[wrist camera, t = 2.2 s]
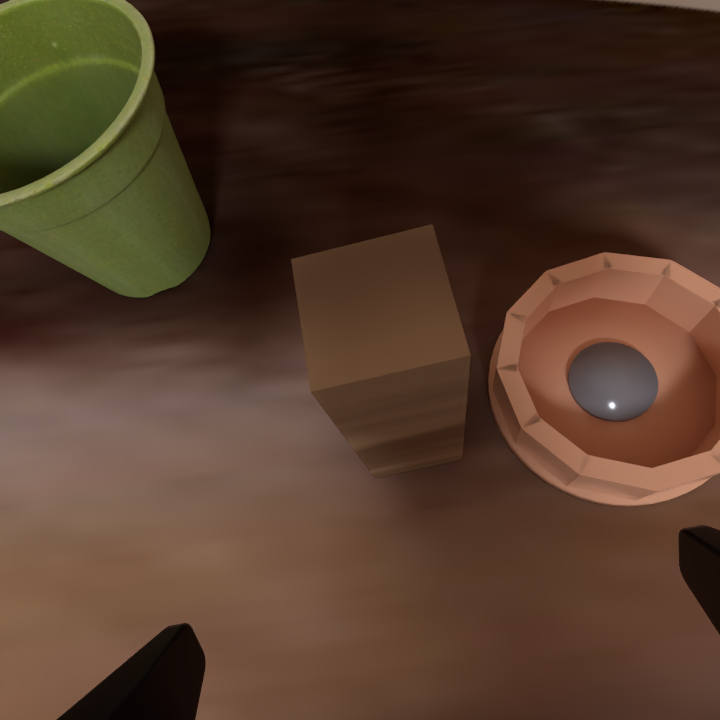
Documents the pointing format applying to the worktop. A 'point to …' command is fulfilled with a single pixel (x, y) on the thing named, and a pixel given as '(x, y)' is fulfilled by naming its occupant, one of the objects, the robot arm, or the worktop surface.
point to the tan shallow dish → (612, 379)
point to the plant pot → (94, 147)
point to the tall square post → (386, 349)
